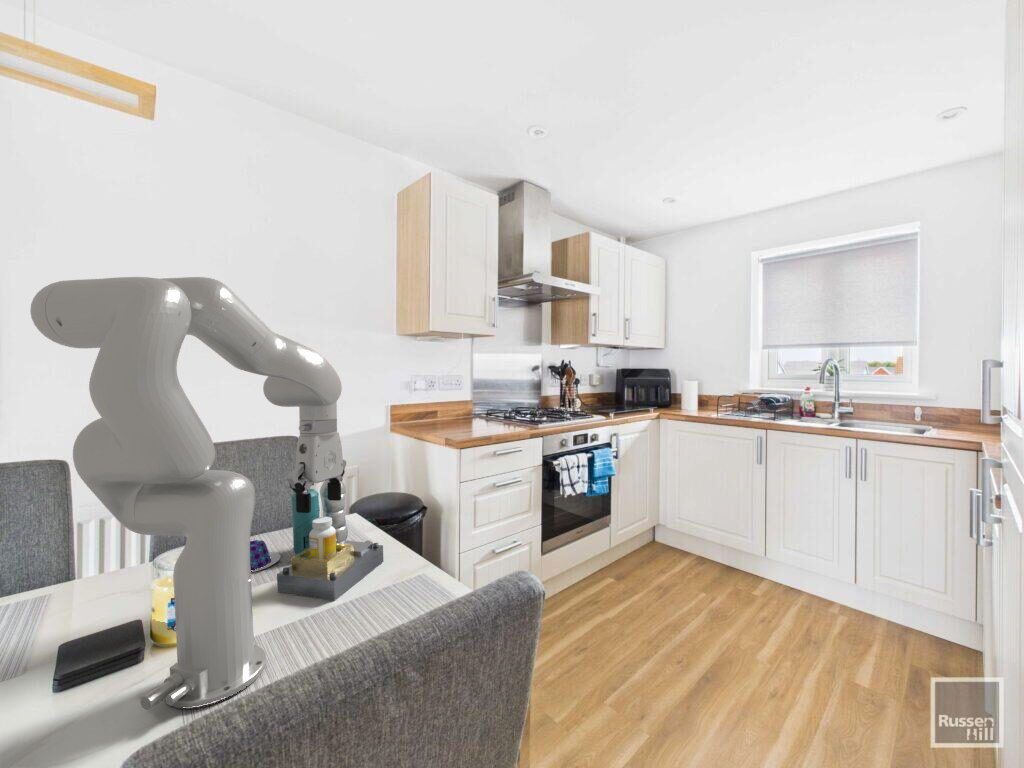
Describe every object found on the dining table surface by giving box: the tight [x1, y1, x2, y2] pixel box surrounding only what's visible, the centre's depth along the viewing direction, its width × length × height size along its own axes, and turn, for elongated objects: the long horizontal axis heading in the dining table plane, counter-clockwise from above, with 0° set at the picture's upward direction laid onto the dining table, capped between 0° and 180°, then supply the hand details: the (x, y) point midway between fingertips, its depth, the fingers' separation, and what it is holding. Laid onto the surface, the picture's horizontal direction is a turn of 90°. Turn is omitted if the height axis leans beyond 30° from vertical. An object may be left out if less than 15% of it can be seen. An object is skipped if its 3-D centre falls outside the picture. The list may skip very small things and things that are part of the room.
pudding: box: [250, 539, 281, 573], centre depth 104 cm, size 12×12×5 cm
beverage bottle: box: [290, 482, 321, 555], centre depth 108 cm, size 6×7×20 cm
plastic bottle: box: [319, 480, 349, 542], centre depth 115 cm, size 6×7×20 cm
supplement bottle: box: [309, 516, 336, 559], centre depth 95 cm, size 5×5×10 cm
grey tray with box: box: [276, 539, 384, 601], centre depth 99 cm, size 21×14×6 cm, turn 165°
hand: (319, 505), depth 94 cm, fingers open, 9 cm apart
